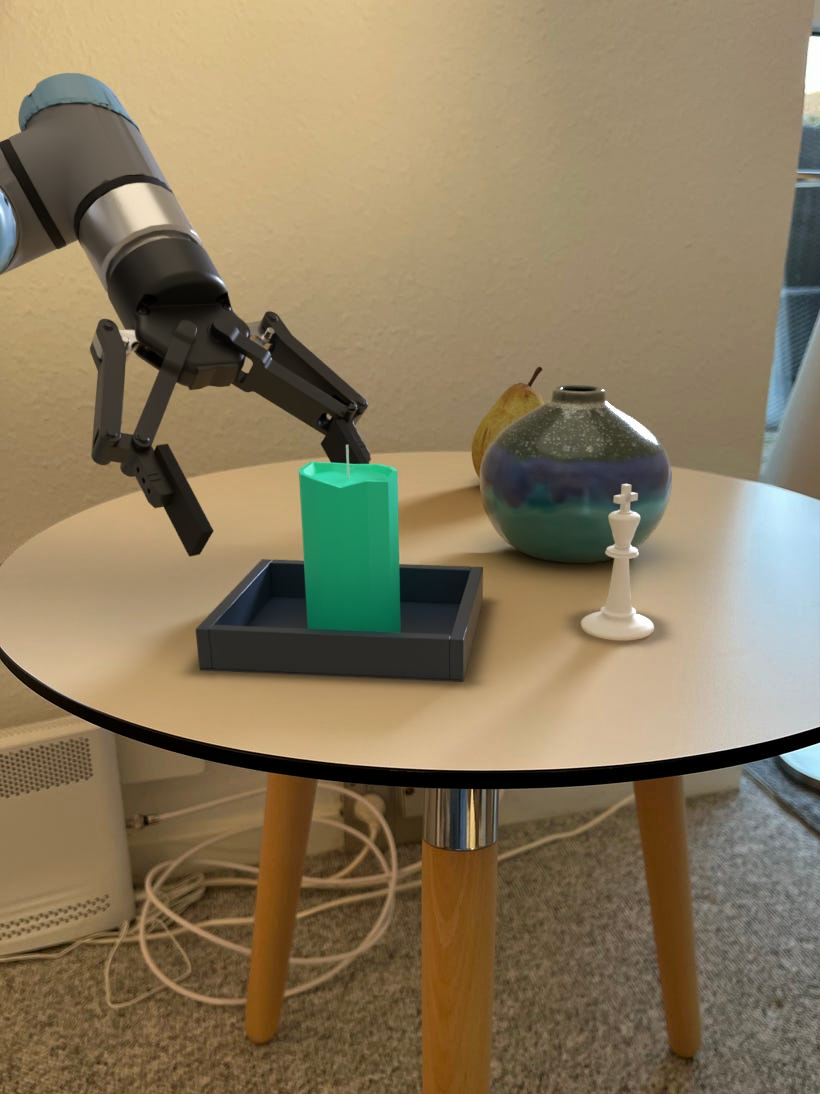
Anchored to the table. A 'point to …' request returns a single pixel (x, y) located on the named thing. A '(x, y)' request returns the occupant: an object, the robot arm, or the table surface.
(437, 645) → the tray
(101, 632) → the table surface
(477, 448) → the fruit
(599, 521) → the vase
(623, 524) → the chess piece
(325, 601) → the candle
